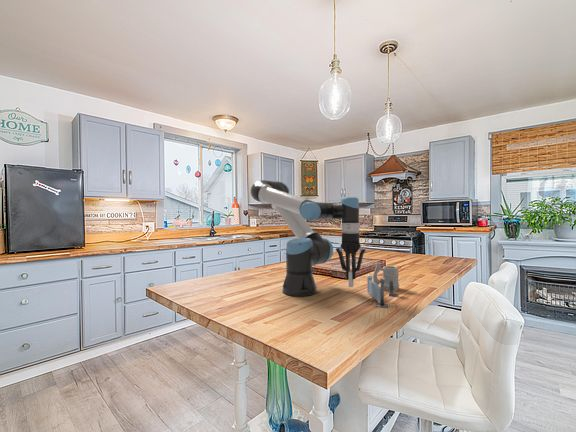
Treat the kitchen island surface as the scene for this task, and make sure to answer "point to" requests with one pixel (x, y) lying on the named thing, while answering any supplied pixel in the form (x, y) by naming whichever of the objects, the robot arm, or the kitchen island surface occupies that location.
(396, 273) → the mug
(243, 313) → the kitchen island surface
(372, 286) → the gate
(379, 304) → the hinge post
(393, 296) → the stop post
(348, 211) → the robot arm
